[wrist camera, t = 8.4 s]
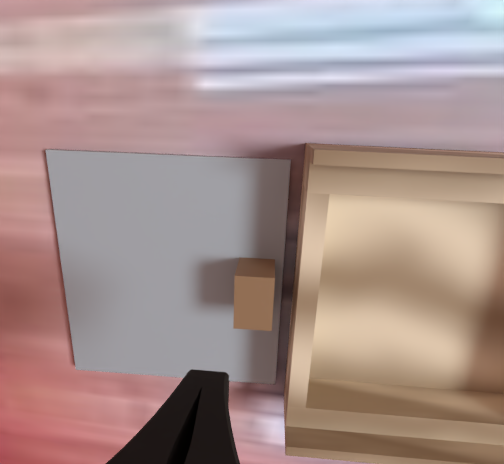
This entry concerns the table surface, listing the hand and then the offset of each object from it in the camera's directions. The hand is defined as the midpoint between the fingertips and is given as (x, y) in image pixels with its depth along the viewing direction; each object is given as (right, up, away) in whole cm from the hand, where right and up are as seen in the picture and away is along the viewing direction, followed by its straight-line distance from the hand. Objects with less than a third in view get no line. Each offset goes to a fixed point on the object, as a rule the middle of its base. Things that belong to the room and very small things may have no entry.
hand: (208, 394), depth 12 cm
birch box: (+11, +2, +8) cm, 14 cm away
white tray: (-3, +3, +9) cm, 10 cm away
